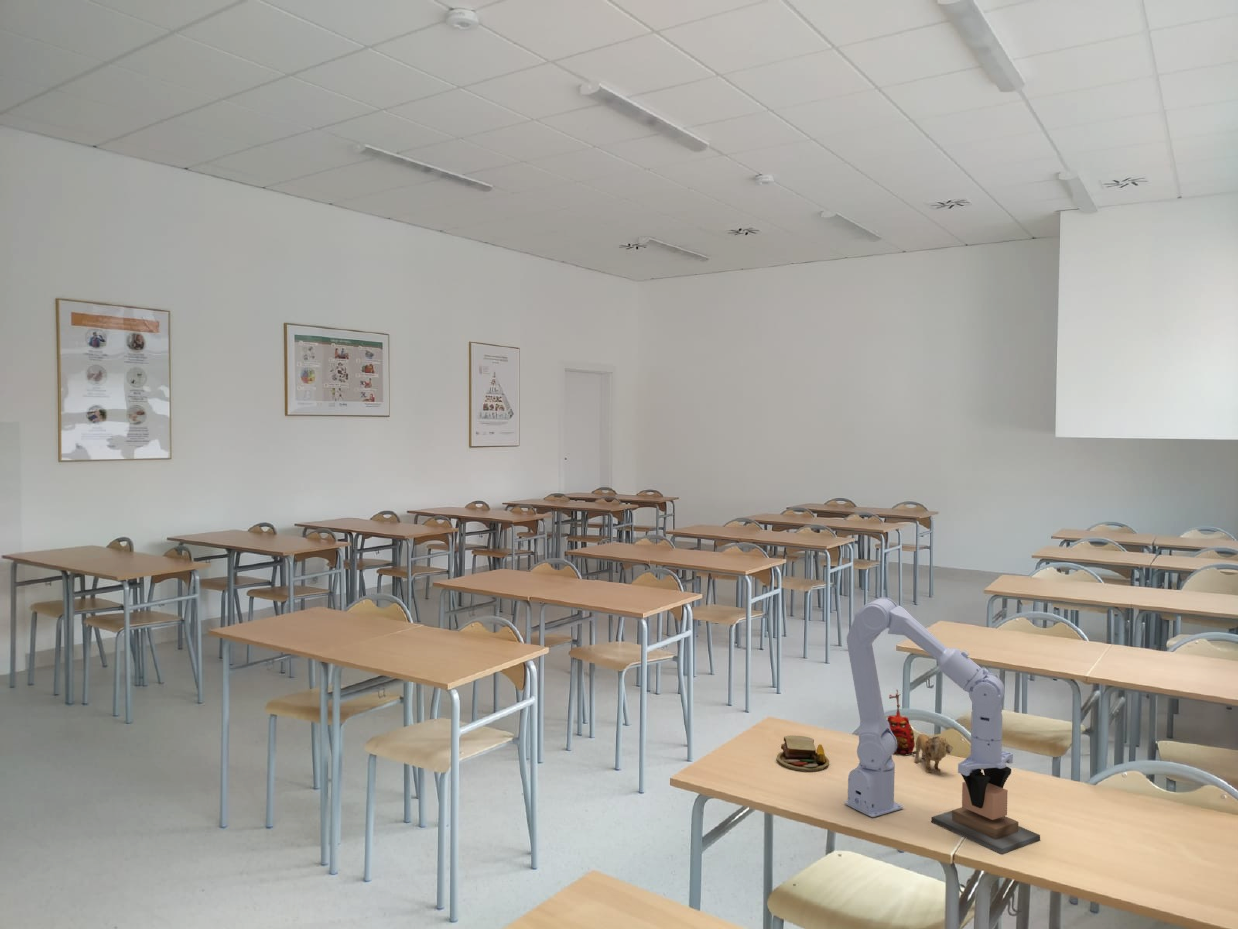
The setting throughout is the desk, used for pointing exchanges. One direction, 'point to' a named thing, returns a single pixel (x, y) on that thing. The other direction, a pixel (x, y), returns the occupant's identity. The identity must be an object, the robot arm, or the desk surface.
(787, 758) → the toy sandwich meal
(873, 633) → the robot arm
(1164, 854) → the desk surface
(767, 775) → the desk surface
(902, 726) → the red clay folk toy
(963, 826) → the tower base
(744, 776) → the desk surface
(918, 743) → the lion figurine
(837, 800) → the desk surface
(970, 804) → the terracotta brick
